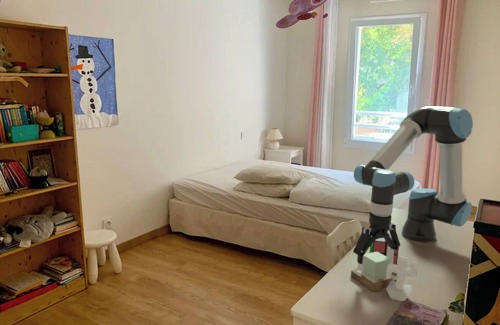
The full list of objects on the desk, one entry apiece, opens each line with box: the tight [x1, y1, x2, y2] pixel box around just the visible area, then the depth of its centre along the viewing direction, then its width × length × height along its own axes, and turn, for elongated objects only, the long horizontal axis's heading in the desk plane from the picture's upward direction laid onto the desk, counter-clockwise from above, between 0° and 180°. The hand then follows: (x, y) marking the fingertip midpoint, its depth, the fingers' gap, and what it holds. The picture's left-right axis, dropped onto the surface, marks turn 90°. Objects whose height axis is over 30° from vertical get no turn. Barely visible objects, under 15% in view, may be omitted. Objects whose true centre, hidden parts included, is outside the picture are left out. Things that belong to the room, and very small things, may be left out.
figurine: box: [385, 255, 418, 303], centre depth 138 cm, size 7×9×15 cm
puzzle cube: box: [368, 233, 400, 265], centre depth 167 cm, size 10×10×10 cm
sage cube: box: [364, 252, 391, 280], centre depth 149 cm, size 7×7×7 cm
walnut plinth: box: [350, 268, 397, 293], centre depth 150 cm, size 12×12×3 cm
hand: (375, 267), depth 149 cm, fingers open, 13 cm apart
